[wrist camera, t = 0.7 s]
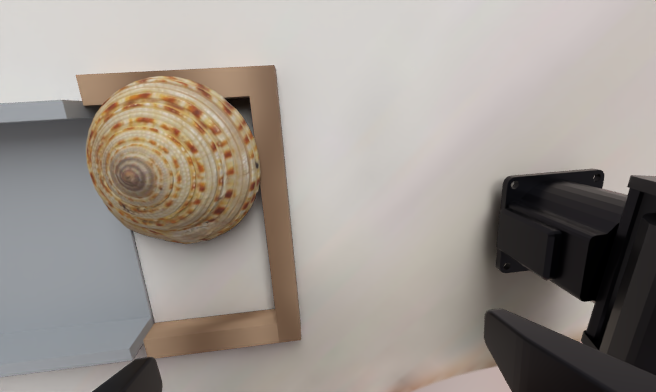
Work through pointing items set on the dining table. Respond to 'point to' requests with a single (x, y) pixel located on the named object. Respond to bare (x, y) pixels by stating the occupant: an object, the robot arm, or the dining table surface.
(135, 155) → the seashell
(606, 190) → the robot arm
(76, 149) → the tray
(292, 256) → the cradle
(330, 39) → the dining table surface
